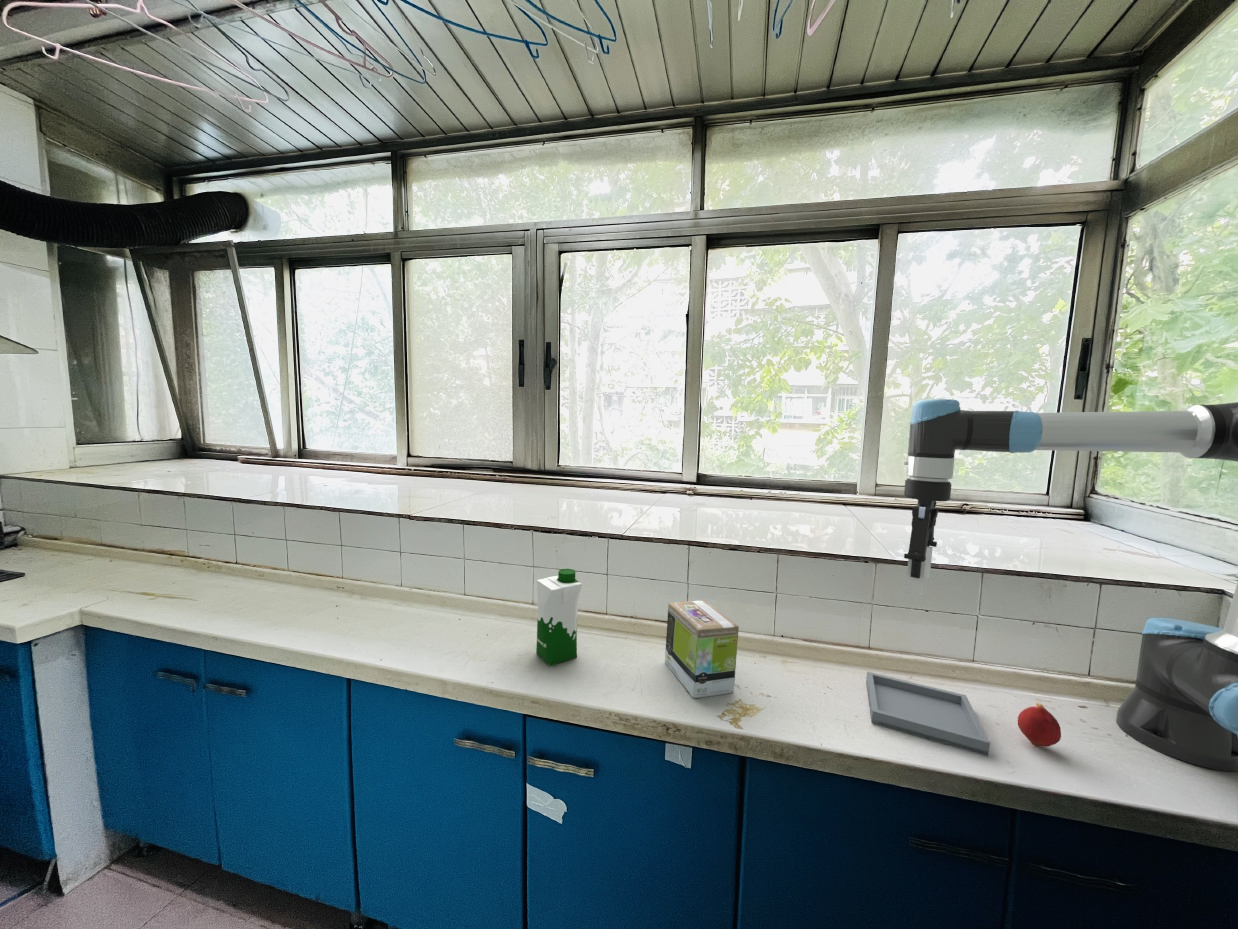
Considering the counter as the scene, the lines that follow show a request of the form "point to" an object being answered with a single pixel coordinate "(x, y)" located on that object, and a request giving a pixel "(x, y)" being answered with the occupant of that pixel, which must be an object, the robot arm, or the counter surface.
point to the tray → (925, 713)
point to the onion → (1039, 726)
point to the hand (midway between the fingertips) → (918, 584)
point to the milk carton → (557, 617)
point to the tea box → (701, 648)
